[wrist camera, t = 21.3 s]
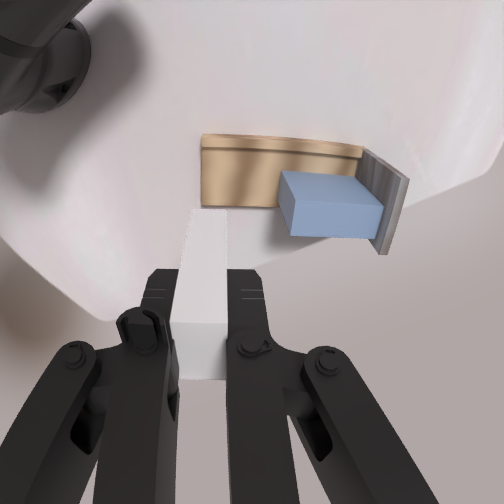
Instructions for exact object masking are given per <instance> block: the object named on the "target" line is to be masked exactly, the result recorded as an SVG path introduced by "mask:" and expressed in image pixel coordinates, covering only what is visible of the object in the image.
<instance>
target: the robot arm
mask: <svg viewBox="0 0 504 504" xmlns="http://www.w3.org/2000/svg"><path fill="white" fill-rule="evenodd" d="M91 1H92V0H0V115H2V114H4V113H7V112H10V111H12V110H17V111H22V112H26V113H42V112H46V111H49V110H52V109H55V108H57V107H59V106H61V105H62V104H64V103H65V102H66V101H68V100H69V99H70V98H71V97H72V96H73V95H74V94H75V92H76V91H77V90H78V88H79V87H80V85H81V84H82V82H83V80H84V78H85V76H86V73H87V70H88V67H89V62H90V55H91V47H90V40H89V36H88V34H87V31H86V29H85V28H84V26H83V25H82V24H81V23H80V22H79V21H78V20H76V19H75V18H74V17H75V16H76V15H77V14H78V13H79V12H80V11H81V10H82V9H83V8H84V7H85V6H86V5H88V4H89V3H90V2H91ZM116 325H117V328H118V331H119V334H120V337H121V340H122V343H121V344H119V345H117V346H114V347H111V348H105V349H100V350H94V348H93V347H92V346H91V345H90V344H88V343H87V342H83V341H73V342H70V343H67V344H66V345H64V346H62V347H61V348H60V349H59V351H58V352H57V353H56V355H55V356H54V358H53V359H52V361H51V362H50V364H49V365H48V367H47V368H46V370H45V371H44V373H43V374H42V376H41V377H40V379H39V381H38V382H37V384H36V385H35V387H34V388H33V390H32V392H31V394H30V395H29V397H28V398H27V400H26V402H25V403H24V405H23V407H22V408H21V410H20V412H19V413H18V415H17V417H16V419H15V420H14V422H13V424H12V426H11V428H10V429H9V431H8V433H7V435H6V437H5V439H4V441H3V443H2V444H1V446H0V504H79V503H80V500H81V498H82V495H83V493H84V491H85V488H86V485H87V483H88V481H89V478H90V476H91V473H92V471H93V469H94V467H95V464H96V462H97V460H98V464H97V471H96V478H95V486H94V495H93V504H175V478H176V449H177V428H178V412H179V398H180V393H179V387H178V379H179V375H180V379H193V380H226V411H227V412H226V413H227V443H228V465H229V487H230V488H229V489H230V504H300V501H299V495H298V489H297V481H296V474H295V468H294V461H293V454H292V448H291V442H290V434H289V428H288V422H287V415H289V416H290V418H291V420H292V422H293V425H294V427H295V429H296V431H297V433H298V436H299V438H300V440H301V442H302V444H303V446H304V448H305V450H306V452H307V455H308V457H309V459H310V461H311V463H312V465H313V467H314V469H315V472H316V473H317V476H318V478H319V480H320V482H321V484H322V486H323V488H324V490H325V492H326V494H327V496H328V498H329V500H330V502H331V504H439V503H438V501H437V499H436V498H435V496H434V494H433V492H432V491H431V489H430V487H429V486H428V484H427V482H426V481H425V479H424V477H423V476H422V474H421V472H420V471H419V469H418V467H417V466H416V464H415V462H414V461H413V459H412V458H411V456H410V454H409V453H408V451H407V449H406V448H405V446H404V445H403V443H402V441H401V440H400V438H399V436H398V435H397V433H396V432H395V430H394V428H393V427H392V425H391V423H390V422H389V420H388V419H387V417H386V415H385V414H384V412H383V411H382V409H381V408H380V406H379V404H378V403H377V401H376V400H375V398H374V397H373V395H372V393H371V392H370V390H369V389H368V387H367V385H366V384H365V382H364V381H363V379H362V378H361V376H360V375H359V373H358V371H357V370H356V368H355V367H354V365H353V364H352V362H351V361H350V359H349V358H348V357H347V356H346V354H345V353H344V352H342V351H341V350H339V349H337V348H335V347H330V346H319V347H316V348H314V349H312V350H310V351H309V352H308V354H304V353H299V352H295V351H291V350H288V349H285V348H283V347H281V346H280V345H278V344H277V343H276V342H275V341H274V340H273V338H272V337H271V335H270V332H269V326H268V319H267V312H266V306H265V300H264V293H263V287H262V281H261V278H260V277H259V275H258V274H257V273H256V271H255V270H250V269H227V210H226V209H192V211H191V215H190V220H189V224H188V229H187V233H186V238H185V243H184V247H183V252H182V257H181V262H180V267H179V269H156V270H155V271H154V272H153V273H152V274H151V275H150V276H149V277H148V281H147V284H146V287H145V291H144V294H143V298H142V301H141V305H140V307H134V308H132V309H129V310H126V311H125V312H124V313H123V314H121V315H120V316H119V318H118V319H117V321H116Z"/></svg>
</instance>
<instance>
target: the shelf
mask: <svg viewBox="0 0 504 504" xmlns="http://www.w3.org/2000/svg"><path fill="white" fill-rule="evenodd" d="M201 147H202V154H201V205H222V206H261V207H280V205H279V202H278V193H279V184H280V176H281V170H283V171H298V172H310V173H322V174H332V175H342V176H351V177H355V178H356V179H357V180H358V181H359V182H360V183H361V184H363V185H364V186H365V187H366V188H367V189H368V190H369V191H370V192H371V193H372V194H373V195H374V197H375V198H376V199H377V200H378V201H379V202H380V203H381V204H382V205H383V206H384V209H383V213H382V217H381V220H380V224H379V227H378V230H377V234H376V237H375V239H368V240H369V241H370V242H371V244H372V245H373V247H374V248H375V250H376V251H377V252H378V254H379V255H387V254H388V251H389V248H390V245H391V242H392V239H393V236H394V233H395V230H396V227H397V223H398V220H399V216H400V213H401V210H402V206H403V203H404V199H405V196H406V192H407V188H408V184H409V181H410V179H409V178H407V177H406V176H405V175H403V174H402V173H401V172H399V171H398V170H397V169H395V168H394V167H392V166H391V165H390V164H388V163H387V162H385V161H384V160H383V159H381V158H380V157H378V156H377V155H375V154H374V153H372V152H371V151H370V150H368V149H367V148H365V147H364V146H357V145H350V144H343V143H335V142H327V141H318V140H308V139H297V138H286V137H272V136H255V135H229V134H203V135H202V137H201Z"/></svg>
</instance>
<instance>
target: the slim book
mask: <svg viewBox="0 0 504 504" xmlns="http://www.w3.org/2000/svg"><path fill="white" fill-rule="evenodd" d="M278 202H279V205H280V208H281V211H282V214H283V217H284V219H285V222H286V225H287V228H288V231H289V234H290V236H310V237H338V238H364V239H375V237H376V234H377V230H378V227H379V224H380V220H381V217H382V213H383V209H384V206H383V205H382V204H381V203H380V202H379V201H378V200H377V199H376V198H375V197H374V195H373V194H372V193H371V192H370V191H369V190H368V189H367V188H366V187H365V186H364V185H363V184H361V183H360V182H359V181H358V180H357V179H356V178H355V177H351V176H342V175H332V174H322V173H310V172H298V171H283V170H281V176H280V184H279V193H278Z"/></svg>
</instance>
